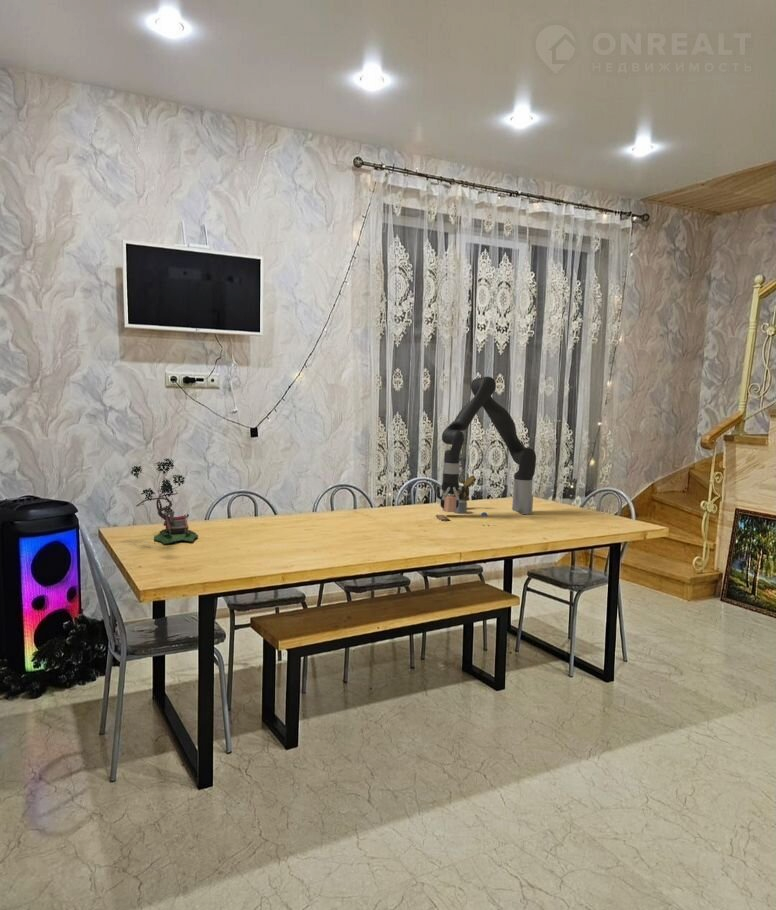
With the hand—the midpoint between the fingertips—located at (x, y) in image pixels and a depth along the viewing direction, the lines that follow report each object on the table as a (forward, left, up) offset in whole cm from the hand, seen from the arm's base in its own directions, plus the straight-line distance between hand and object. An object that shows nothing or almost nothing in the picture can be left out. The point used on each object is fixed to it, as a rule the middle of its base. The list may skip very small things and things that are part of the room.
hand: (449, 507), depth 332 cm
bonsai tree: (+122, +41, -6) cm, 129 cm away
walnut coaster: (0, 0, -6) cm, 6 cm away
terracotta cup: (0, 0, -2) cm, 2 cm away
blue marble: (-18, -2, -4) cm, 19 cm away
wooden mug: (-12, -20, -6) cm, 24 cm away
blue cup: (-8, -9, -6) cm, 13 cm away
